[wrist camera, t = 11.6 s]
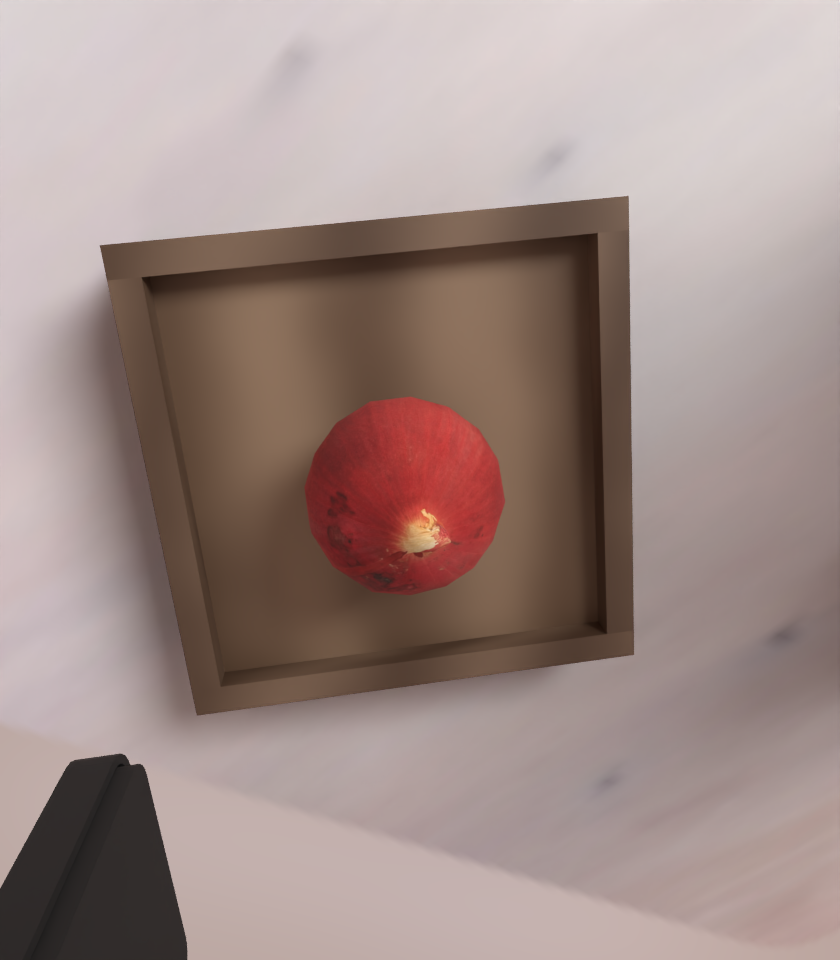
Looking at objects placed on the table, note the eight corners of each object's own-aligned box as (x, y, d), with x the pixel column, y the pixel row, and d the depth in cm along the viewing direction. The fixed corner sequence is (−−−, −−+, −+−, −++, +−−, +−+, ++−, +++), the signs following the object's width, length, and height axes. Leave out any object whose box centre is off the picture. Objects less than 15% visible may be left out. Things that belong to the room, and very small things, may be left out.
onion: (412, 571, 27) (441, 694, 19) (276, 484, 26) (251, 580, 18) (510, 442, 26) (583, 518, 18) (375, 344, 25) (393, 383, 17)
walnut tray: (587, 205, 27) (628, 196, 23) (598, 607, 32) (633, 654, 28) (135, 247, 26) (99, 245, 22) (214, 658, 30) (196, 715, 27)
